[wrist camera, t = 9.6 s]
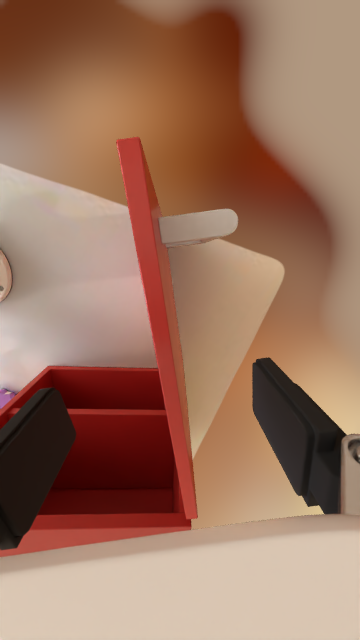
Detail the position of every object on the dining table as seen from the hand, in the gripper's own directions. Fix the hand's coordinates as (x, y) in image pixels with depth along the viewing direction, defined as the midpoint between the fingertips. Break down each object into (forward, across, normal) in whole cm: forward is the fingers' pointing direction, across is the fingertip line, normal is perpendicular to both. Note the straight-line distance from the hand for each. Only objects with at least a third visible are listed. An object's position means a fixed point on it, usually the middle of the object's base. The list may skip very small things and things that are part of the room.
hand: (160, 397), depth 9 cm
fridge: (+26, +14, +22) cm, 37 cm away
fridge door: (+26, -3, +2) cm, 26 cm away
